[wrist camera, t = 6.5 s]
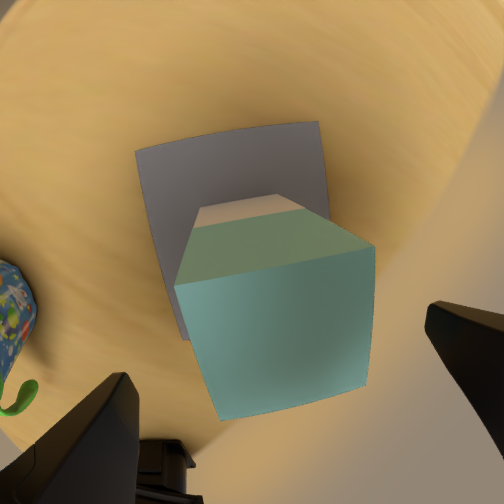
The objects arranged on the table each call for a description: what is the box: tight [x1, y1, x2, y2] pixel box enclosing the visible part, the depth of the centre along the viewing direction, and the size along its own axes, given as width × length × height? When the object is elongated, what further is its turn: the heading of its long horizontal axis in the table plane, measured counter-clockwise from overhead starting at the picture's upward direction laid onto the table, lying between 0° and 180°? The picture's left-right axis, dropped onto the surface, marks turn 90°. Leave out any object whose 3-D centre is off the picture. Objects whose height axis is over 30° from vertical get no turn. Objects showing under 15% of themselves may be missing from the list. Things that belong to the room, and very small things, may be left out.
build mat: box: [135, 121, 330, 340], centre depth 19 cm, size 14×12×1 cm
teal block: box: [174, 208, 375, 421], centre depth 10 cm, size 5×5×6 cm
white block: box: [193, 194, 305, 228], centre depth 16 cm, size 5×5×6 cm
